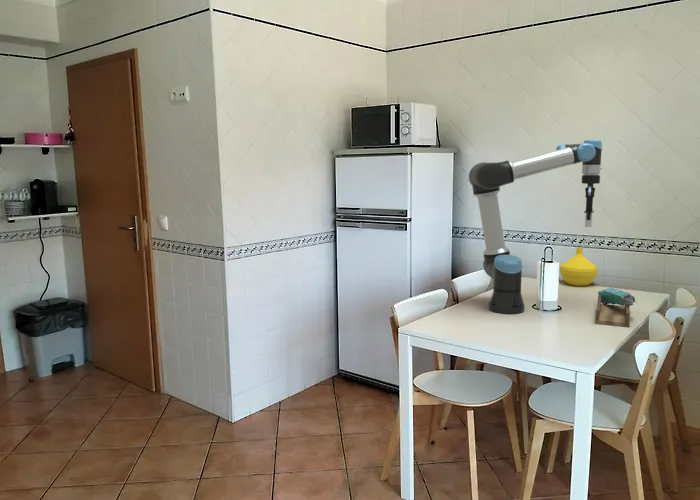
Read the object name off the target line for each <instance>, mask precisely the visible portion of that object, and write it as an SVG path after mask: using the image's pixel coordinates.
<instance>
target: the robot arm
mask: <svg viewBox="0 0 700 500" xmlns="http://www.w3.org/2000/svg"><path fill="white" fill-rule="evenodd" d="M602 143H603V142H602V140H601V139H584V141H583V143H574V144H573V143H572V144H571V143H570V144H559V145H557V147H555V148H556V149H555V150H552V151H549V152H545V153H541V154H537V155H533V156H529V157H526V158H522V159H518V160H514V161H510V160H504V161H500V162H485V161H483V162H479V163H477V164H474V165H473V166H472V167H471V168H470V170H469V172H468V181H469V183H470V185H471V187H472V192H473V195H474V197H475V198H477V202H478V207H479V212H480V213H479V214H480V219H481V227H482V231H483V237H484V238H483V239H484V243H485V244H484V245H485V250H484V251H483V252H482V254H483V263H482V266H483V270H484V273H486V275H488V276H487V277H489V278H491V279H493V288H492V291H493V292H492V295H491V297H490V299H489V303H488V310H490V311H492V312H494V313H498V314H506V315H507V314H509V315H510V314H513V315H515V314H521V313H523V312H525V311H526V310H525V308H526V307H525V302H524V299H523V296H522V277H523V276H522V275H523V274H522V273H523V262H522V259H521V258H520V257H519V256H517V255H512V254H511V252H510V248H508V246H507V245H506V243H505V238H504V230H503V225H502V218H501V211H500V204H499V199H498V198H499V197H498V193H499V192H500V190H501V188H500V187H502V186H505V185H508V184H512V183H514V182H515V181H516V180H518V179H523V178H526V177H529V176H533V175H537V174H540V173H545V172H549V171H551V170H555V169H559V168H564V167H567V166H570V165H576V164H579V163H582V165H581V166H582V167H581V174H583V175H582V176H581V184H583V185H584V184H587V187H585V188H584V189H585V190H584V191H585V200H586V201H585V203H586V204H585V210H584V211H583V213H585V217H584V218H585V219H584V220H585V221H584V227H585V228H592V224H593V213H595V211H594V209H593V206H594V205H593V204H594V202H593V201H594V198H595V192H596V187H594V184H600V183H601V176H600V174H601V170H602V169H603V167H602V166H601V165H602V151H603V145H602Z"/></svg>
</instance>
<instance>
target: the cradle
mask: <svg viewBox="0 0 700 500" xmlns="http://www.w3.org/2000/svg"><path fill="white" fill-rule="evenodd" d="M630 310H631V309H630V306H626V305H624V306H621V305H618V304H614V305H613V304H602V303H601V295H599V294H598V295H597V301H596V309H595V319H594V321H595V323H594V324H597V325H603V324H604V325H603V326H615V327H624V328H625V327H626V328H630V317H631V311H630Z"/></svg>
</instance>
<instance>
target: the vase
mask: <svg viewBox="0 0 700 500" xmlns="http://www.w3.org/2000/svg"><path fill="white" fill-rule="evenodd" d="M583 250H584V249H583V248H582V247H576V251H575V252H576V253H575V254H574V256H572V257H570V258H569V259H567V260H566V261H565V262H563V263H561V264H560V266H559V272H560V276H561V278H562V280H563V281H564V282H565V283H566V284H568V285H569V286H574V287H585V286H588V285H590V284H592V282H593V281H594V280H595V279H596V277H597V275H598V271H599V270H598V267H597V266H596V264H595V263H593V262H592V261H590V260H589V259H588V258H587V257H585V256H584V254H583Z"/></svg>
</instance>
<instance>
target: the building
mask: <svg viewBox="0 0 700 500" xmlns="http://www.w3.org/2000/svg"><path fill="white" fill-rule="evenodd" d="M597 293H598V295H601V304H608V305H619V306H625V305H626V306H629V307H630V306H634V303H636V304H638V302H636V299H635V296H633V295H632V294H631V293H630V292H627V291H624V290H622V289H619V288H614V287H609V288H605V289H601V290H599V291H598V292H597Z"/></svg>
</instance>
